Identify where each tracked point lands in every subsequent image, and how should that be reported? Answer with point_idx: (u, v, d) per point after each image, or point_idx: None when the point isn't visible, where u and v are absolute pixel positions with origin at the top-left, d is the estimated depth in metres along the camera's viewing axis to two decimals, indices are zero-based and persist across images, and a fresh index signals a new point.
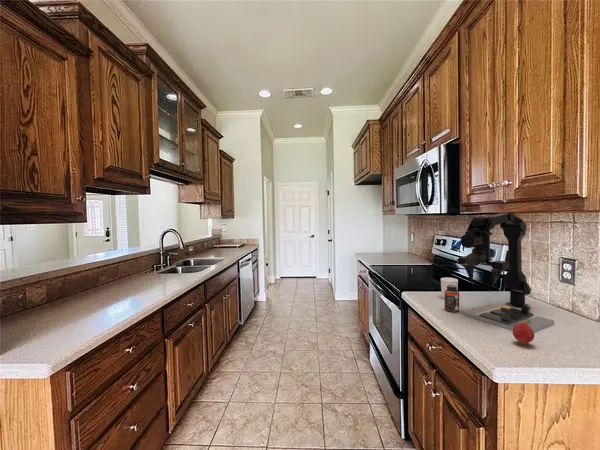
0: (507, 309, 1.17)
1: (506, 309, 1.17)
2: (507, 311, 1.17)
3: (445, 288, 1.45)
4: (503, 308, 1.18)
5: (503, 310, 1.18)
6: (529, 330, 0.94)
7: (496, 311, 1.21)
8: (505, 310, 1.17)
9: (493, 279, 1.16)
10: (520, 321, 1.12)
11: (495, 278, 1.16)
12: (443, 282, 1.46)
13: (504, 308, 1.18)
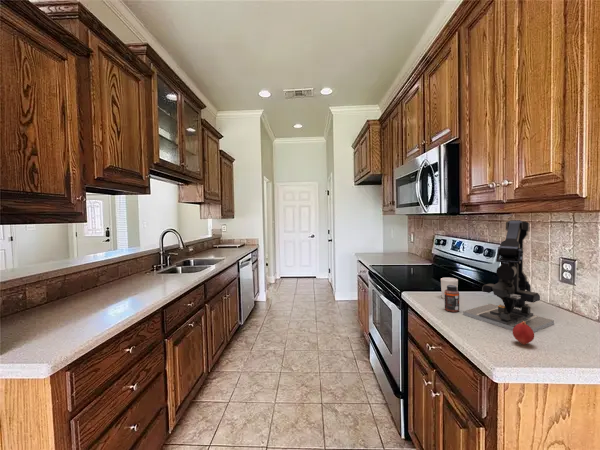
0: (503, 308, 1.18)
1: (502, 308, 1.18)
2: (503, 310, 1.18)
3: (445, 288, 1.45)
4: (499, 307, 1.19)
5: (499, 309, 1.19)
6: (529, 330, 0.94)
7: (496, 311, 1.21)
8: (501, 309, 1.19)
9: (510, 307, 1.16)
10: (520, 321, 1.12)
11: (512, 306, 1.16)
12: (443, 282, 1.46)
13: (500, 307, 1.19)
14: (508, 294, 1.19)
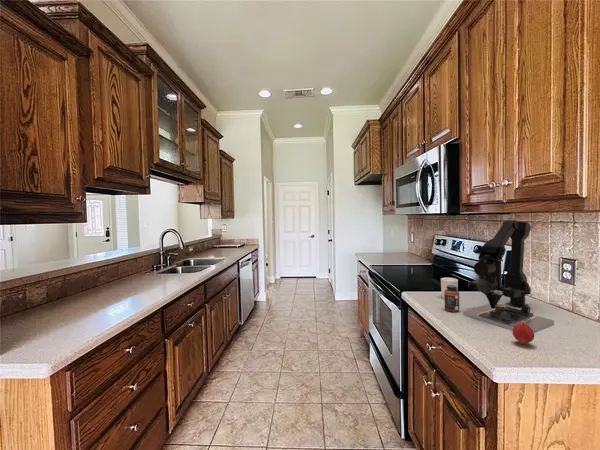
0: (500, 307, 1.19)
1: (499, 307, 1.19)
2: (500, 309, 1.19)
3: (445, 288, 1.45)
4: (496, 306, 1.20)
5: (496, 308, 1.20)
6: (529, 330, 0.94)
7: (496, 311, 1.21)
8: (498, 308, 1.20)
9: (493, 303, 1.21)
10: (520, 321, 1.12)
11: (495, 302, 1.21)
12: (443, 282, 1.46)
13: (497, 306, 1.20)
14: (492, 290, 1.25)
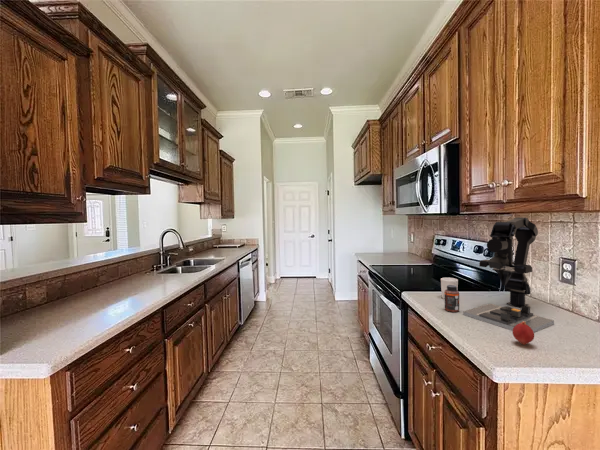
0: (517, 312, 1.14)
1: (516, 312, 1.14)
2: (517, 314, 1.14)
3: (445, 288, 1.45)
4: (513, 311, 1.15)
5: (513, 313, 1.15)
6: (529, 330, 0.94)
7: (496, 311, 1.21)
8: (515, 313, 1.14)
9: (504, 280, 1.24)
10: (520, 321, 1.12)
11: (506, 279, 1.24)
12: (443, 282, 1.46)
13: (514, 311, 1.15)
14: (503, 268, 1.28)
